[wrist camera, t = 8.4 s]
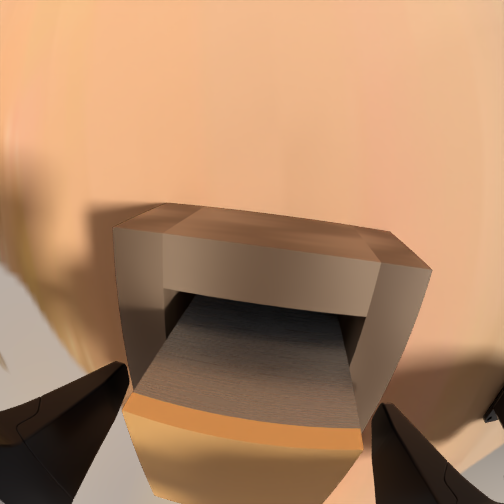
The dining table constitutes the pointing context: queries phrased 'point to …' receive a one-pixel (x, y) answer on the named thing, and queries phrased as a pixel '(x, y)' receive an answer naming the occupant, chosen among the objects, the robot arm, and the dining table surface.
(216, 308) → the steel peg
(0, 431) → the robot arm
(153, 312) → the socket block
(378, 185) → the dining table surface
